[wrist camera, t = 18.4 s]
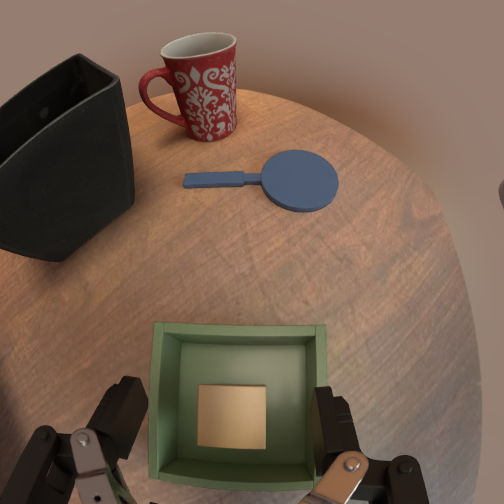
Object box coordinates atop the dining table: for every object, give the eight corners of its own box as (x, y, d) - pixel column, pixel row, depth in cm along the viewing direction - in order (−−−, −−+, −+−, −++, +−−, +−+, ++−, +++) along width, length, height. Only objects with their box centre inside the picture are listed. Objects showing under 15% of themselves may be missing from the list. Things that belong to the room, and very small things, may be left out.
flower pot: (115, 135, 38) (77, 49, 23) (173, 200, 32) (122, 75, 17) (25, 207, 33) (-34, 139, 18) (52, 299, 27) (-52, 228, 12)
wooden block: (265, 384, 22) (266, 386, 15) (265, 428, 20) (265, 449, 13) (218, 383, 22) (197, 383, 15) (217, 426, 21) (196, 445, 13)
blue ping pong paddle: (330, 155, 34) (332, 151, 33) (342, 213, 30) (344, 208, 29) (191, 156, 35) (189, 152, 34) (179, 213, 31) (177, 209, 30)
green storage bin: (313, 336, 24) (325, 324, 19) (312, 468, 19) (324, 488, 14) (175, 334, 25) (154, 321, 20) (170, 461, 19) (148, 478, 14)
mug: (227, 102, 40) (217, 27, 28) (255, 130, 36) (250, 43, 24) (152, 132, 38) (125, 57, 26) (168, 166, 34) (137, 79, 22)
